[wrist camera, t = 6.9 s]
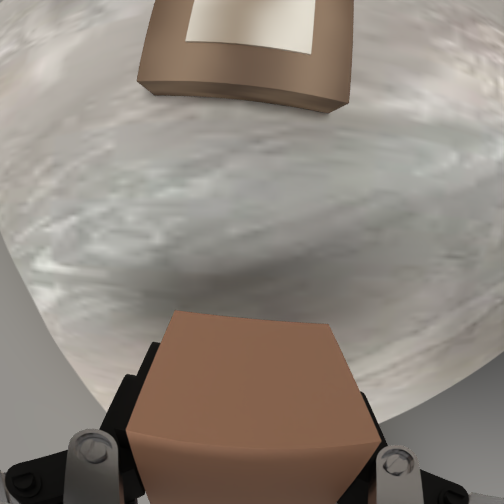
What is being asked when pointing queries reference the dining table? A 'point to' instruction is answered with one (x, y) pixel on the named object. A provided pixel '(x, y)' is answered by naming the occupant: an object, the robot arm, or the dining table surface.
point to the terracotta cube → (249, 415)
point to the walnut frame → (251, 51)
